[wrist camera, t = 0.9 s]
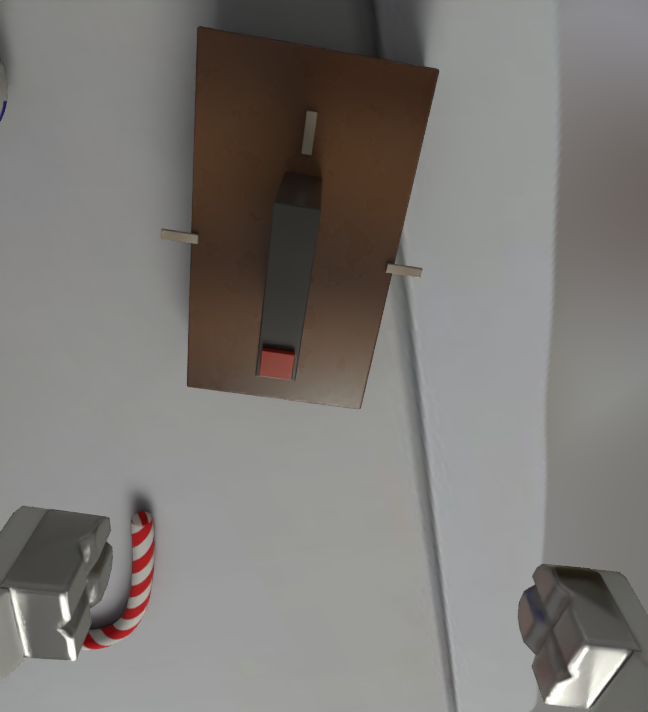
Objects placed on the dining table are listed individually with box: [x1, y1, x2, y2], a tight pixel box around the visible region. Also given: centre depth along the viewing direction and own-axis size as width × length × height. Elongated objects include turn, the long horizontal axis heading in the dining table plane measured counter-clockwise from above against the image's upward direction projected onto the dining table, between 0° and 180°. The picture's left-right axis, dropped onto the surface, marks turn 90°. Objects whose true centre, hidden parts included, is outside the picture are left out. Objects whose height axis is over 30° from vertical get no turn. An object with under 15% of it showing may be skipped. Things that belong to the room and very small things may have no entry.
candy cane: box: [81, 511, 154, 650], centre depth 34 cm, size 8×1×15 cm
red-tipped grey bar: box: [255, 172, 323, 381], centre depth 18 cm, size 6×1×5 cm, turn 171°
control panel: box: [161, 26, 439, 409], centre depth 22 cm, size 14×10×3 cm
